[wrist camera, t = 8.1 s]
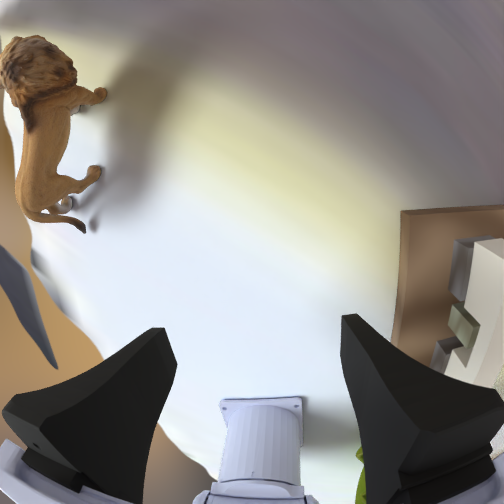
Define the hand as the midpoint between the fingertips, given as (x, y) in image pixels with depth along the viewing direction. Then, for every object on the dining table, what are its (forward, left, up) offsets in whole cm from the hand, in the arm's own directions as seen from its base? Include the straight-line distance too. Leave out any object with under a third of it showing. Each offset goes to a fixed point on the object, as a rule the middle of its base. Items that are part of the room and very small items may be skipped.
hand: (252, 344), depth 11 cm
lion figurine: (+12, +13, -10) cm, 20 cm away
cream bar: (-6, -16, -6) cm, 18 cm away
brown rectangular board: (-6, -16, -9) cm, 20 cm away
